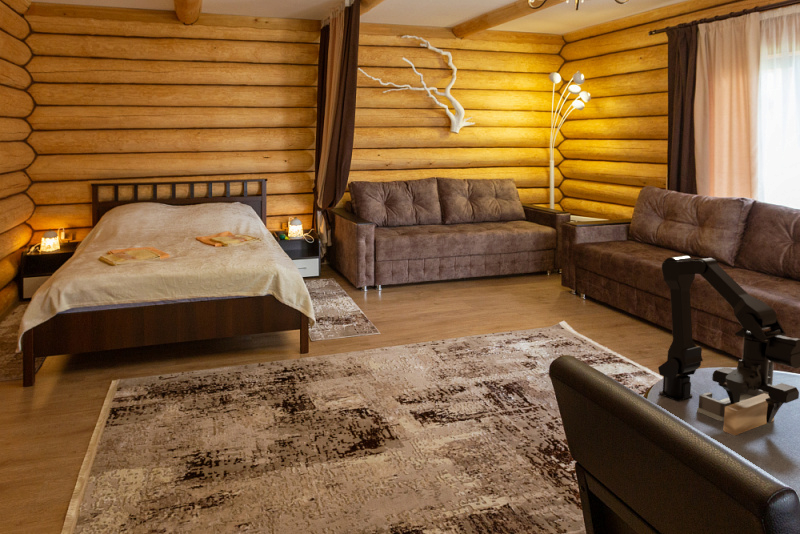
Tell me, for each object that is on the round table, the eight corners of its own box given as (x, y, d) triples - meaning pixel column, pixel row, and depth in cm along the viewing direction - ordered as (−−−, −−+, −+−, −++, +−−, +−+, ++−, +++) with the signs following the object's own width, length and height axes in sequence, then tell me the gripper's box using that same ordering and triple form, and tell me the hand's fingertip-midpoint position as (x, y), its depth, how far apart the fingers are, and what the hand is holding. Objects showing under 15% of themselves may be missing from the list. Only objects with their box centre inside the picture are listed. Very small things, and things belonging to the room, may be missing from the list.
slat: (723, 431, 154) (725, 406, 153) (762, 416, 161) (764, 393, 160) (734, 436, 151) (736, 411, 150) (773, 421, 159) (776, 397, 157)
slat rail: (697, 411, 165) (698, 395, 164) (745, 394, 175) (746, 379, 174) (721, 421, 159) (722, 404, 158) (770, 403, 169) (771, 387, 168)
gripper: (700, 353, 157) (697, 411, 159) (774, 373, 141) (769, 438, 143) (727, 345, 162) (724, 402, 165) (802, 364, 146) (797, 427, 149)
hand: (751, 416), depth 155 cm, fingers open, 8 cm apart
